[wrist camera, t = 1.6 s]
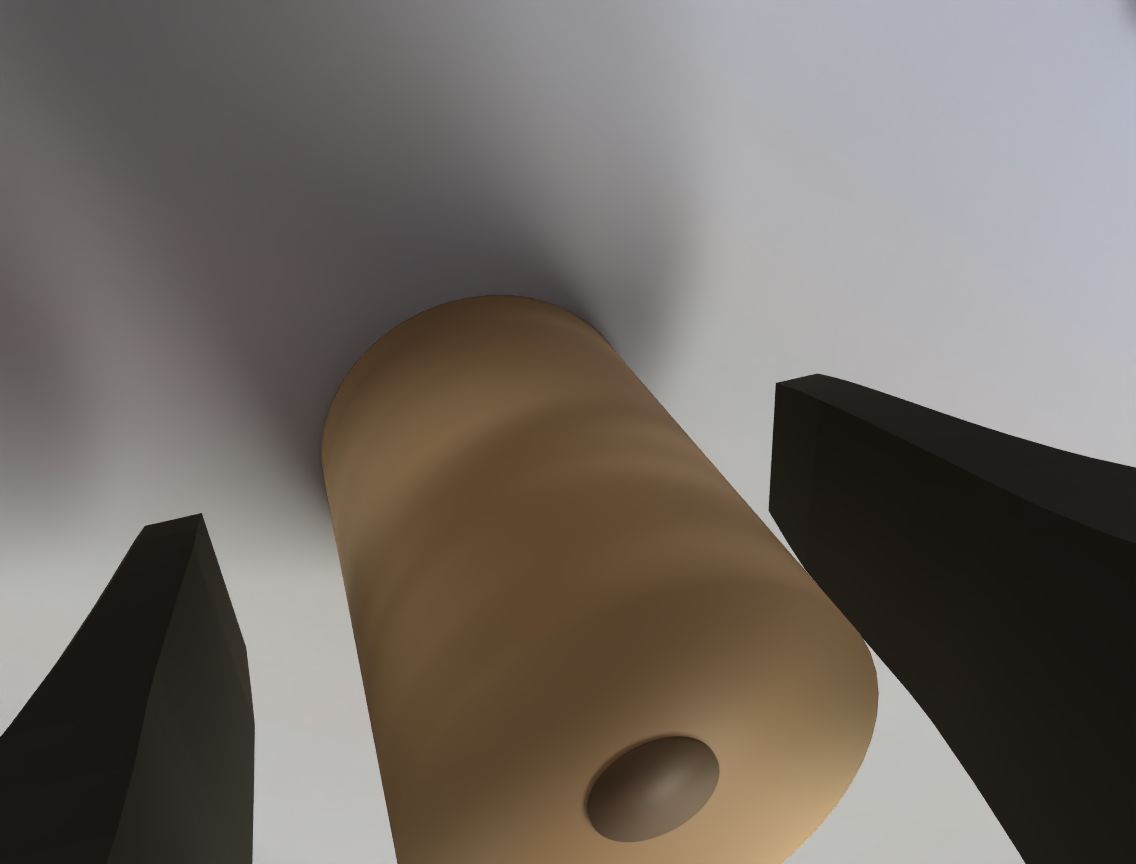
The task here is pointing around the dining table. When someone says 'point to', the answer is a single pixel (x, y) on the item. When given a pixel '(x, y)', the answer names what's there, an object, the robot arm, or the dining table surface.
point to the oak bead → (574, 610)
